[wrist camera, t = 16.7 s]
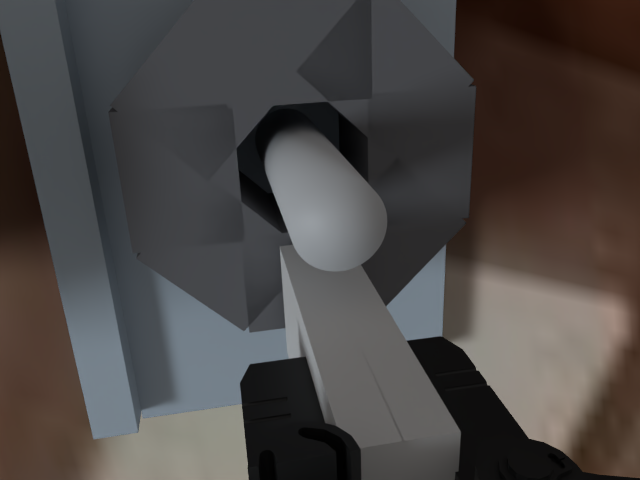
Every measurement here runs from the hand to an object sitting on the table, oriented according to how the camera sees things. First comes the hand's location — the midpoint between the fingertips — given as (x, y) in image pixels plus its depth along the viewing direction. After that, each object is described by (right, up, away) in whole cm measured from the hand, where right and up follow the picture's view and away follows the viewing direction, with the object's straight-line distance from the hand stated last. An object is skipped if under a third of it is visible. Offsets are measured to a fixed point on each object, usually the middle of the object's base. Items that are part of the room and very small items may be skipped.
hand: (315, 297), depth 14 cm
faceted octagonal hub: (-1, +4, +2) cm, 4 cm away
